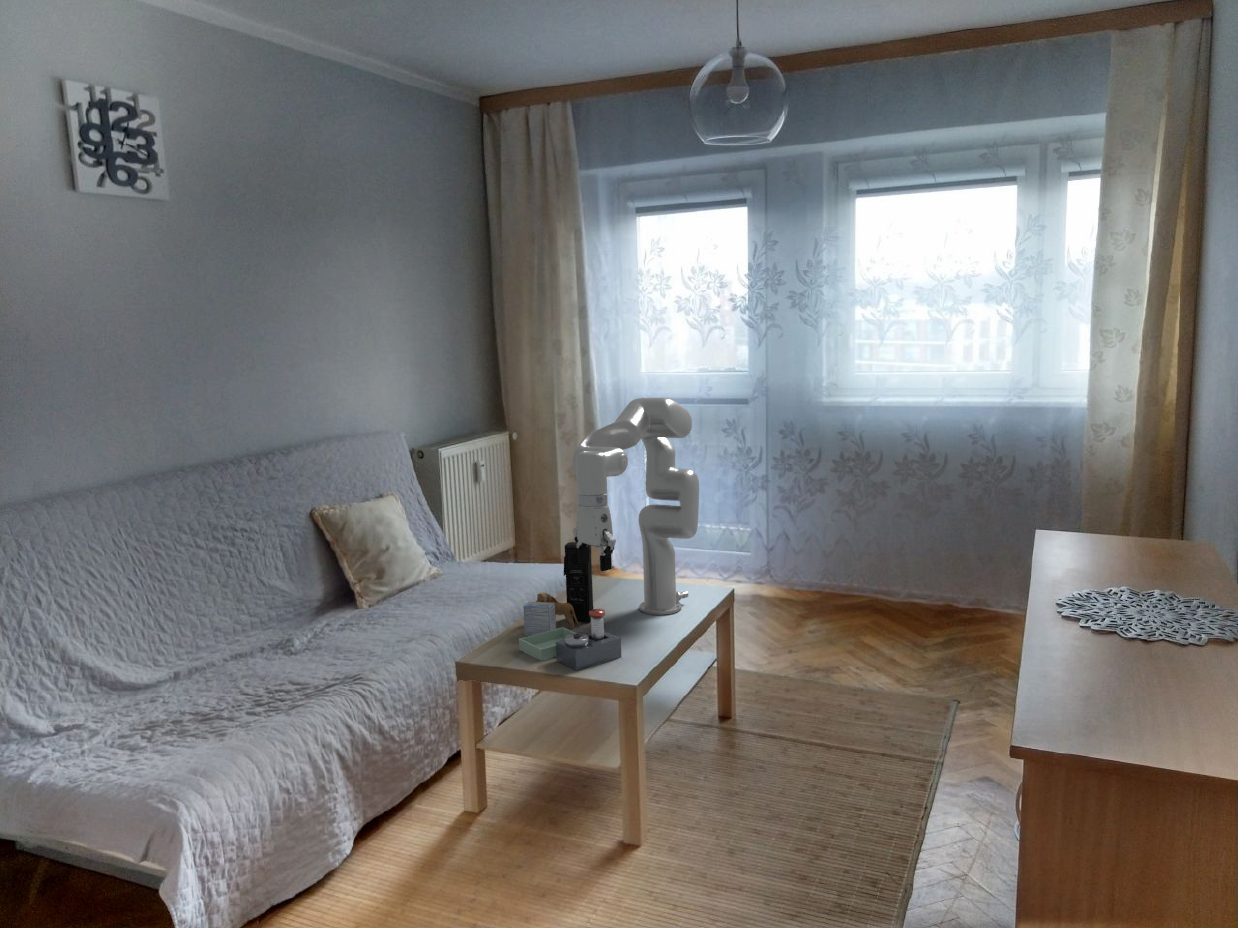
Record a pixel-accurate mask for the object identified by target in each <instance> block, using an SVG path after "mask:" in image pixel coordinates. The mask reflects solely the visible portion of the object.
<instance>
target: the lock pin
mask: <svg viewBox="0 0 1238 928" xmlns="http://www.w3.org/2000/svg"><path fill="white" fill-rule="evenodd" d="M605 612H606V611H605V609H602V608H593V609H592V610H590V611H589V616H590V617H591V622H590V626H591V627H590V628H591V629H590V630H591V633H592V640H593V641H600V640H603V639H604V631H605V627H604V625H605V624H604V616H605V615H606V613H605Z"/></svg>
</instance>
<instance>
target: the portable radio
mask: <svg viewBox="0 0 1238 928" xmlns="http://www.w3.org/2000/svg"><path fill="white" fill-rule="evenodd" d="M587 547H589V562H588V563H584V564H579V563H578V549H579V548H577V547H576V542H575V541H570V542H567V543H566V544H564V557H563V577H564V576H565V588H566V590H565V591H566V592H565V594H566V603H569V604H571V605H572V606H573V609H574V612H575V616H576V619H577V621H578V622H579V623H580V622H581V624H588V623H590V624H591V617H590V616H589V611H590V610H592V609H595V608H594V593H593V592H594V591H593V572H592V571H593V566H592V546H591V545H588V546H587ZM566 621H567V622H568V623H569V621H568V620H567V619H566ZM573 622H574V623H576V621H575V619H574V616H573Z"/></svg>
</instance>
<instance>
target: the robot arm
mask: <svg viewBox="0 0 1238 928" xmlns="http://www.w3.org/2000/svg"><path fill="white" fill-rule="evenodd" d="M692 427H693V420H692V416H691V414H690V412H689V411H688V410H687V409H686V408H685V407H684V406H683V405H680V403H678V402H676V401H675V400H673V399H670V398H667V397H638V398H635V399H632V400H630V401H629V402H628V404H627V405H626V406H625V408H623V410H622V412H621V413H620V414H619V415H618V417H617V418H616V419H615V421H614V422H612V423H610V424H607V425H605V426H603V427H601V428H598V429H596V430H594V431H592V432H590V433H589V434H588V435H586V436H585V437H583V439H582V440H581V442H579V444H578V445H577V446H576V448H575V450H574V452H573V454H572V459H571V460H572V467H573V469H574V471H575V472H576V488H577V489H576V493H577V499H576V500H577V510H576V511H577V512H576V513H577V514H576V527H575V528H573V529H572V534H573V537H574V542H576V547H577V548H579V549H578V563H579V564H584V563H588V562H589V547H587V546H588V545H591V547H595V548H598V551H599V553H600V554H601V555H599V569H600V571H601V572H607V571H610V570H612V568H613V565H612V564H613V563H612V561H613V560H612V555H613V554H614V550H615V547H616V543H617V540H616V538H615V537H614V533H613V532H614V531H613V522H612V516H611V515H612V514H611V510H610V507H609V506H608V479H607V477H610V478H611V477H619V476H620V475H622V474H624V473H625V471H626V469H627V468H628V464H629V462H628V461H629V458H628V454H627V453H626V452H625V450H628V449H630V448H633V447H635V446H637V445H638V444H639V442H640V441H641V440H642V442H643V445H644V447H645V448H644V449H645V453H646V462H645V463H646V464H645V465H646V466H645V493H646V495H647V497H648V498H650V499H652V500H656V501H657V500H658V501H673V502H674V501H675V502H679V504H680V505H670V504H656V503H655V504H649V505H645V506H644V507H643V508H642V509H641V510H639V511H640V512H639V513H638V526H639V530H640V535H641V543H642V568H643V573H642V574H643V599H644V601H643V602H641V603H640V604H639V606H638V607H639V608H638V609H639V610H640V611H641V612H642V613H644V614H648V615H655V616H657V615H658V616H659V615H661V616H662V615H671V614H675V613H678V612H679V611H681V610H682V603H681V602H680V601H681V600H682V599H686V598H688V597H689V592H688V591H687V590H684V591H682V592H680V591H677V583H676V582H677V580H676V579H677V578H676V574H677V573H676V551H675V547H674V545H673V543H672V541H671V540H670V539H678V540H685V539H686V540H689V539H692V538H693V537H694V536H695V535H696V533H697V530H698V525H699V507H700V504H699V503H700V480H699V476H698V475H697V473H696V472H695V471H694V470H693V469H689V468H676V449H675V447H674V445H673V443H672V442H671V440H669V439H683V438H686V437H687V436H689V434H690V433H691V431H692ZM604 547H605V548H604Z"/></svg>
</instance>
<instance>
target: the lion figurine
mask: <svg viewBox="0 0 1238 928" xmlns="http://www.w3.org/2000/svg"><path fill="white" fill-rule="evenodd" d="M536 596H537V597H536V601H535V602H548V603H555V618H556V616H564V618H565V620H566V621H567V620H568V621H569V622H568V621H567V622H568V625H569V630H570V629H571V630H573V629H575V623H576V624H577V625H578V626H579V627H583V626H584V625H583V623H580V622H578V621H577V619H576V616H575V612H574V609H573V606H572V605H571V604H569V603H567V602H559V601H557V598H555V597H554V596H552V595H551V594H548V593H547V592H539V593H538V594H537V593H536ZM573 616H574V619H575V621H576V622H573Z"/></svg>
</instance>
